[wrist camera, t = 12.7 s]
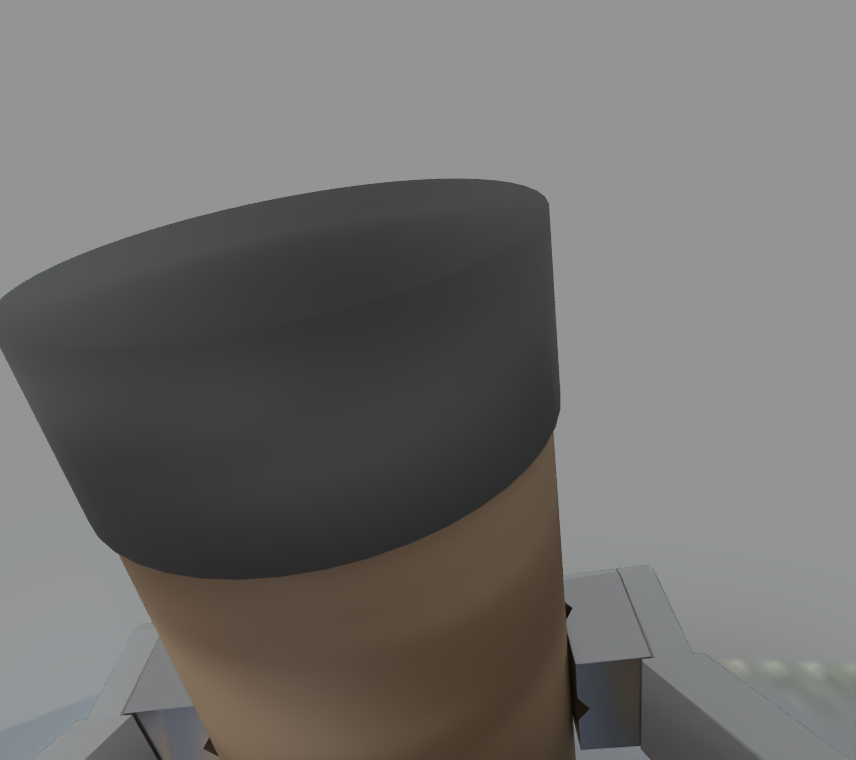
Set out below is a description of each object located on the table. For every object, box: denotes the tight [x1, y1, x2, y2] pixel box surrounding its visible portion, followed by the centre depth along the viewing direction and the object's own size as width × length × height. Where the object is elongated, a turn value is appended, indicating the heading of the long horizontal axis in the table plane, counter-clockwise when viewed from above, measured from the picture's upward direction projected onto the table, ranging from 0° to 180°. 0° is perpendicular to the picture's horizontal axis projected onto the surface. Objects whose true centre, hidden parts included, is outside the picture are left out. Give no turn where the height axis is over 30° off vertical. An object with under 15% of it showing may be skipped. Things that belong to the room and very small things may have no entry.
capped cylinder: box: [0, 179, 576, 760], centre depth 10 cm, size 5×5×17 cm
